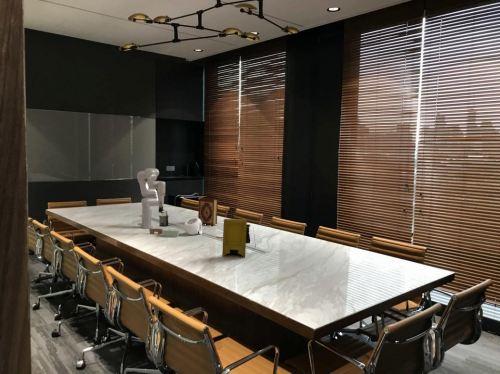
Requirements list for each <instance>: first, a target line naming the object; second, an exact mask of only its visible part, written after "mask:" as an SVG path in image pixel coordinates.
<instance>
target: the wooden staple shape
mask: <svg viewBox="0 0 500 374" xmlns="http://www.w3.org/2000/svg"><path fill="white" fill-rule="evenodd" d="M148 229H149V234H150V235H154V234H155V233H157V235H163V230H164V228H153V227H152V228H148Z"/></svg>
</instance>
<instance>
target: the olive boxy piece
mask: <svg viewBox="0 0 500 374" xmlns="http://www.w3.org/2000/svg"><path fill="white" fill-rule="evenodd" d="M248 223H250V221H249V222H248V220H247V219H240V218H239V219H237V218H224V219H223V227H222V228H223V229H222V230H223V231H222V232H223V233H222V236H216V239H222V251H221V252H222V254H221V257H222V256H224V257H225V256H226V255H227V254H237V255H241V256H242V258H246V250H247V249H246V247H247V245H248V244H251V236H250V227H251V224H248ZM252 228H253V231H254V228H255V227H252ZM255 237H256V236H255V235H253V238H254V240H256V239H255ZM254 246H255V247H254V249H253V250H255V248H256V244H254ZM247 254H248V255H249V254H250V253H248V252H247Z"/></svg>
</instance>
